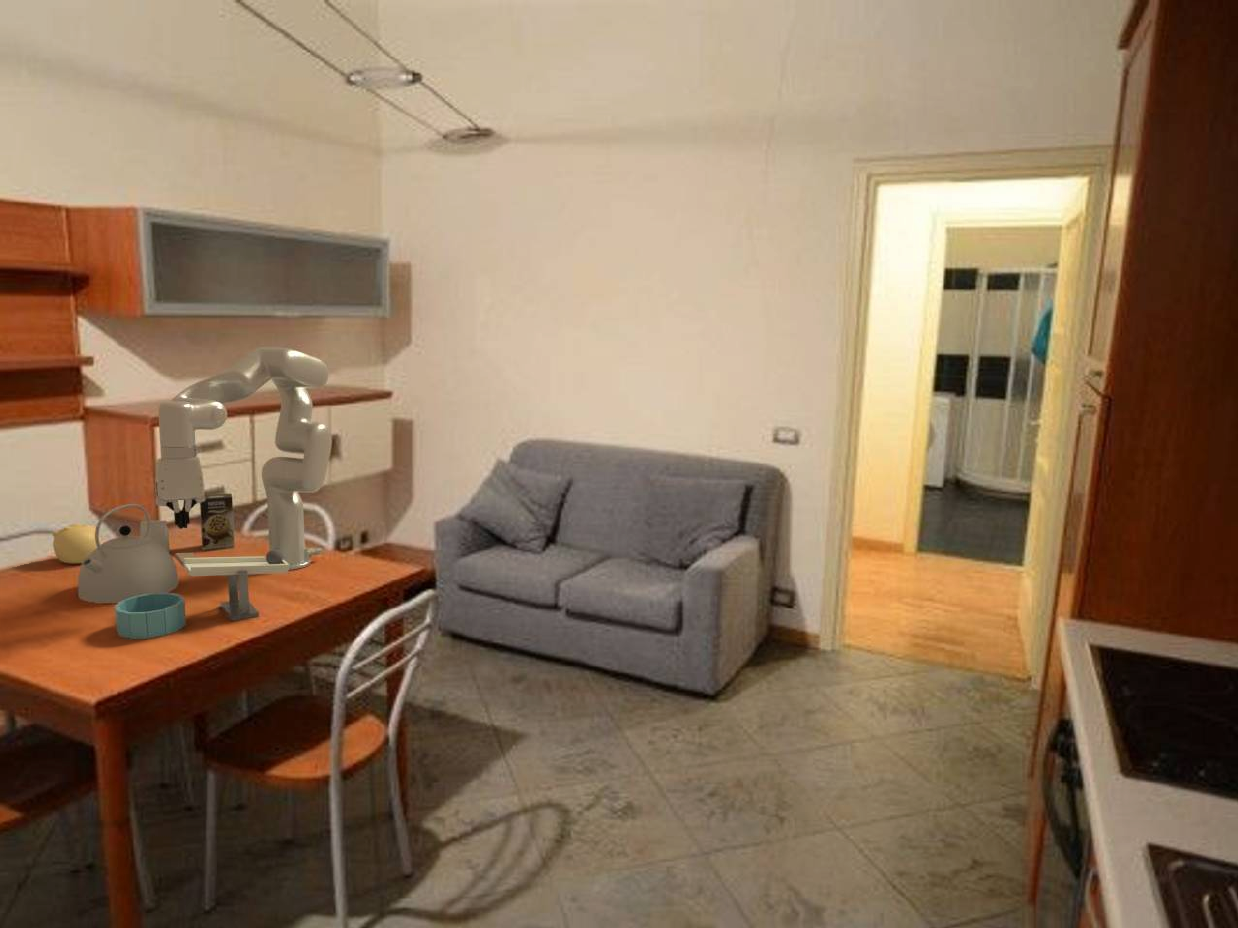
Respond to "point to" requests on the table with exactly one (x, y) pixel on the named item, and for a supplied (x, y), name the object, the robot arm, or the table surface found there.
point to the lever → (228, 565)
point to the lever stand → (241, 606)
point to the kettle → (126, 567)
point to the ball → (274, 557)
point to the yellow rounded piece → (74, 543)
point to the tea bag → (156, 533)
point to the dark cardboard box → (217, 522)
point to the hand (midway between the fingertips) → (182, 527)
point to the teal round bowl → (150, 615)
